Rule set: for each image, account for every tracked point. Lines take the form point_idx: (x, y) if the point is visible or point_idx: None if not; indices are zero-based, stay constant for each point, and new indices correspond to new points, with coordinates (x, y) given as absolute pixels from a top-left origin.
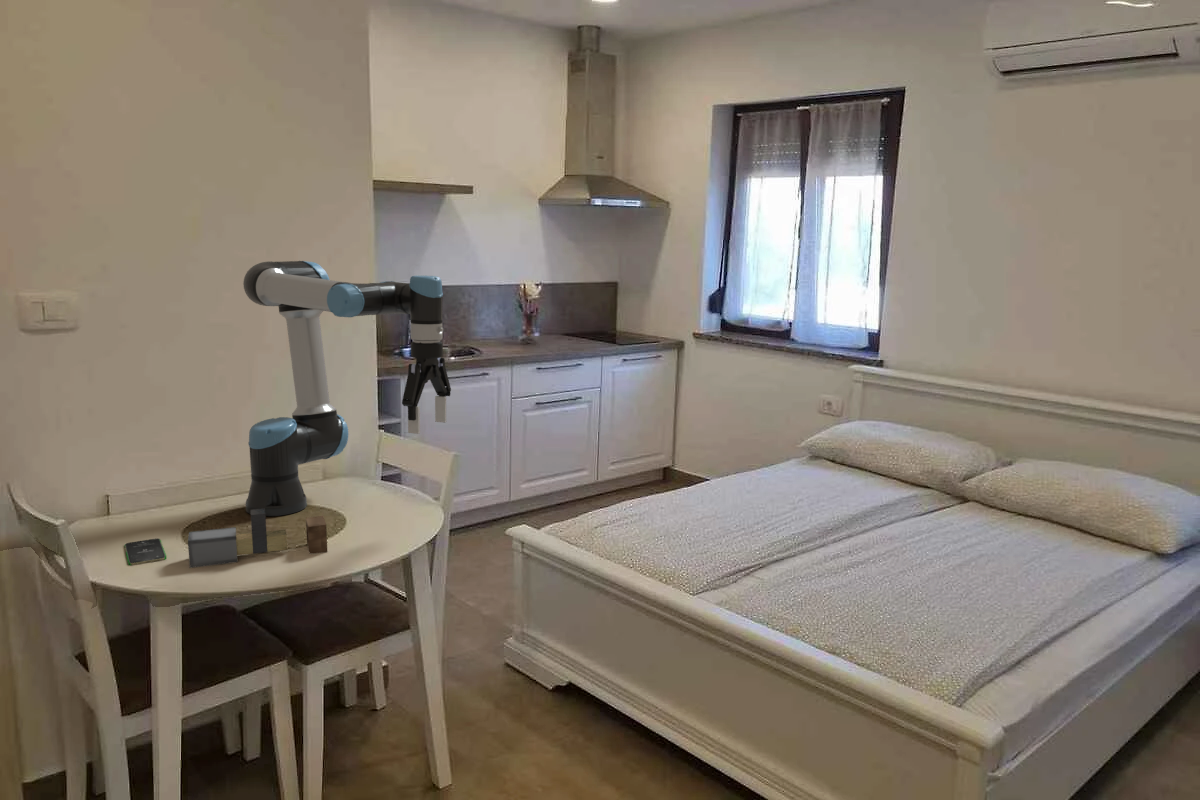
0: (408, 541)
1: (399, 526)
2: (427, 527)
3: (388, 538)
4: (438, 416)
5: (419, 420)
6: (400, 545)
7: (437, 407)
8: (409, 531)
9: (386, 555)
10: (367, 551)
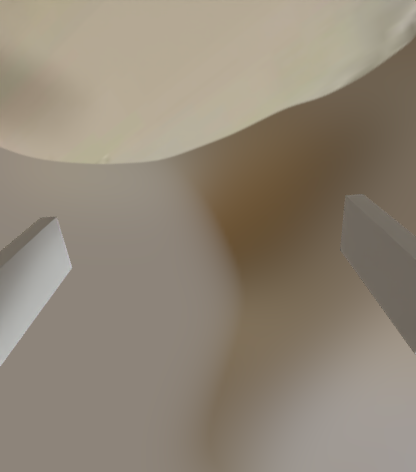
0: (117, 147)
1: (187, 67)
2: (208, 133)
3: (110, 95)
4: (355, 228)
5: (39, 307)
6: (91, 145)
7: (382, 248)
8: (168, 111)
9: (35, 153)
10: (27, 103)
